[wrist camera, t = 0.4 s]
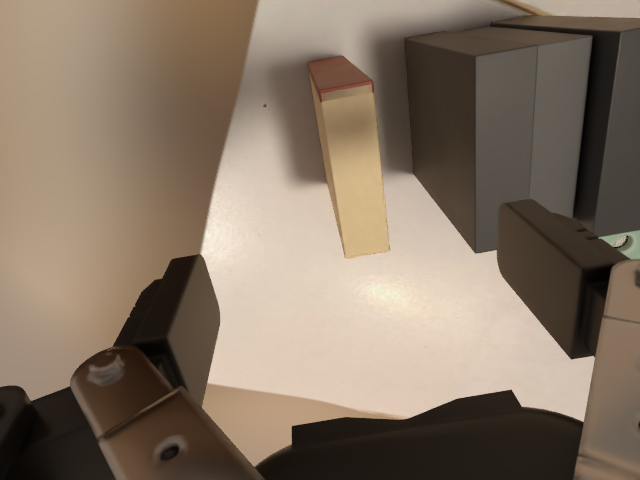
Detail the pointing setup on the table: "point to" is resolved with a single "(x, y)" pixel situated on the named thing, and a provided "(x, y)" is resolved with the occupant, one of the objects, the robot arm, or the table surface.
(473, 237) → the grey books
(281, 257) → the table surface
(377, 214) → the cream book
